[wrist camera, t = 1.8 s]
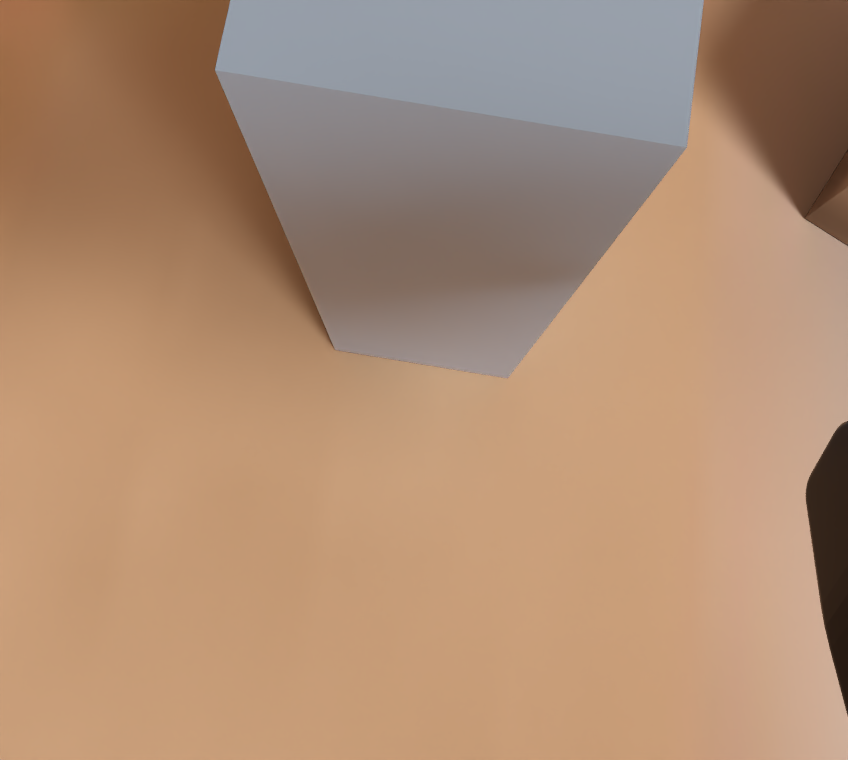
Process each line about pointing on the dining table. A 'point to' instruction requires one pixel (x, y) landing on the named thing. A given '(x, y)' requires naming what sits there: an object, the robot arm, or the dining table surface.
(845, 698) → the robot arm
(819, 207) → the brown hollow brick
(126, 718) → the dining table surface
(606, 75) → the tall grey prism
